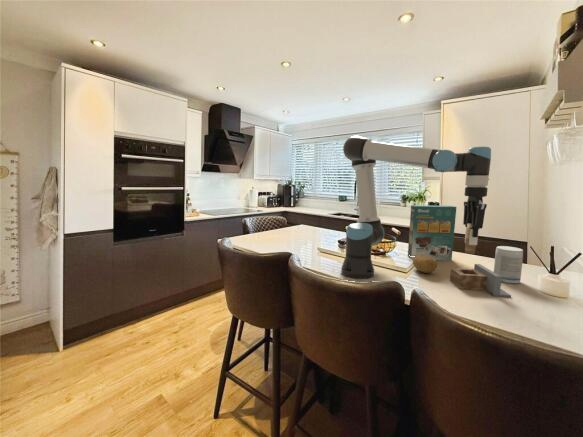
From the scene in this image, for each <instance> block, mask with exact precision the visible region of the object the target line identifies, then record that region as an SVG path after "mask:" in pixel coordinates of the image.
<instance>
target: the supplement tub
mask: <svg viewBox="0 0 583 437" xmlns="http://www.w3.org/2000/svg"><path fill="white" fill-rule="evenodd" d="M494 255H495V256H494V265H493V272H494V273H496V274H498V275H500V276H502V279H501V283H506V284H519V283H520V282H521V276H522V270H523V269H522V267H523V262H524V261H523V260H524V249H522V248H519V247H514V246H506V245H499V246H496V248H495V254H494Z"/></svg>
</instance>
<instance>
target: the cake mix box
mask: <svg viewBox="0 0 583 437" xmlns="http://www.w3.org/2000/svg"><path fill="white" fill-rule="evenodd" d="M409 216H410V217H409V230H408V232H409V233H408V246H407V257H408V258H410V259H411V260H413V258H414V257H410V256H416V255H426V256H429V257H432V258H433V259H434V260H435V261H437V260H438V261H452V259H453V249H454V240H455V228H456V218H457V217H456V216H457V206H453V205H427V204H426V205H425V204H424V205H423V204H422V205H421V204H420V205H419V204H418V205H417V204H416V205H415V204H414V205H413V204H411V206H410V215H409ZM409 255H410V256H409Z"/></svg>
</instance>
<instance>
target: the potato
mask: <svg viewBox="0 0 583 437" xmlns="http://www.w3.org/2000/svg"><path fill="white" fill-rule="evenodd" d="M412 264H413V266H414V268H415V269H416V270H418V271H419V272H421V273H425V274H431V273H433V272H434V271H436V269H437V266H438V262H437V260H434V259H433V258H432V257H429V256H426V255H416V256H415V257H414V258H413V259H412Z"/></svg>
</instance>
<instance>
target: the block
mask: <svg viewBox="0 0 583 437" xmlns="http://www.w3.org/2000/svg"><path fill="white" fill-rule="evenodd" d="M449 275H450V276H449V282H450V283H452V284H453V285H454V286H455V287H456V288H457V289H459V290H467V291H468V290H469V291H483V292H484V291H485V292H487V291H486V285H487V276H486V275H484V274H483V273H481V272H479V271H478V270H476V269H474V268H457V267H451V268H450V274H449Z"/></svg>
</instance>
